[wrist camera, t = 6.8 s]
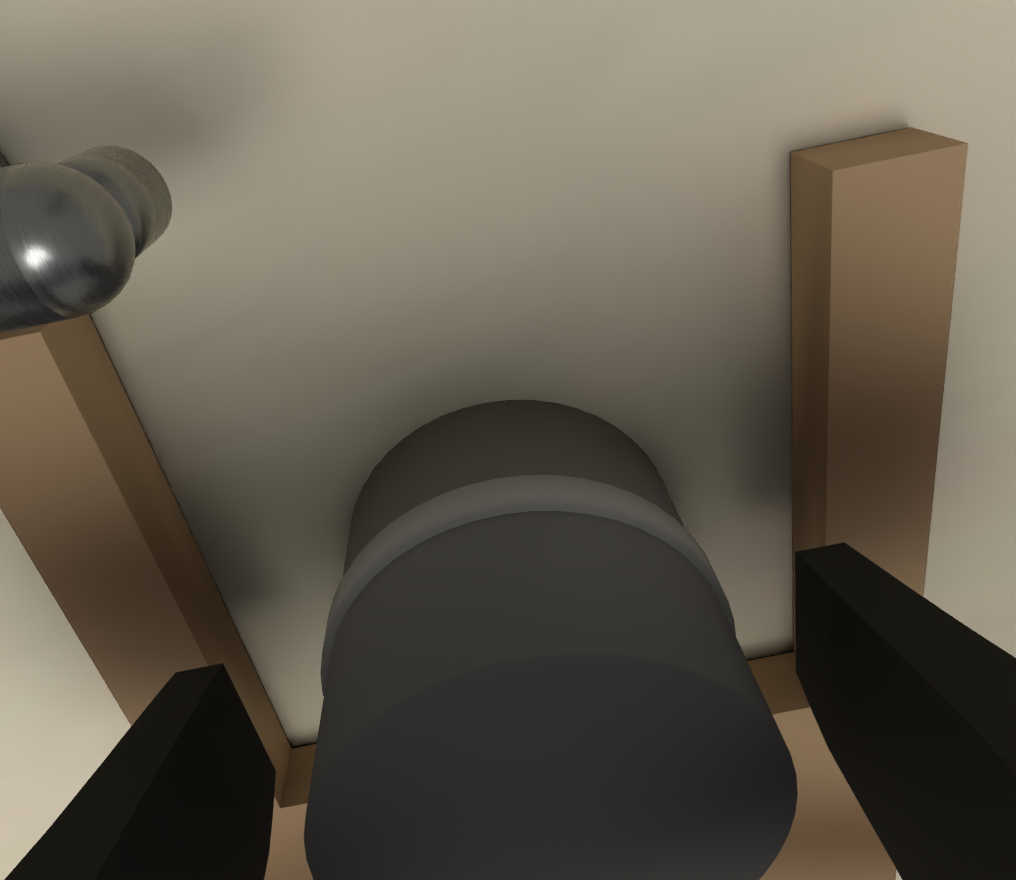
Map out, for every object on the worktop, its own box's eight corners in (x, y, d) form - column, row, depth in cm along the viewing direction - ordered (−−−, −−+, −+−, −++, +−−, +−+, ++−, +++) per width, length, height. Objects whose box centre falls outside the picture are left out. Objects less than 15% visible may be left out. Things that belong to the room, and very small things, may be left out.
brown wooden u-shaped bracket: (864, 843, 17) (893, 900, 16) (310, 948, 17) (301, 1010, 16) (911, 127, 10) (968, 142, 9) (-35, 320, 10) (-90, 357, 9)
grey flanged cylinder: (702, 618, 14) (829, 913, 9) (411, 699, 14) (400, 1019, 10) (640, 347, 11) (774, 576, 7) (287, 454, 11) (197, 737, 7)
